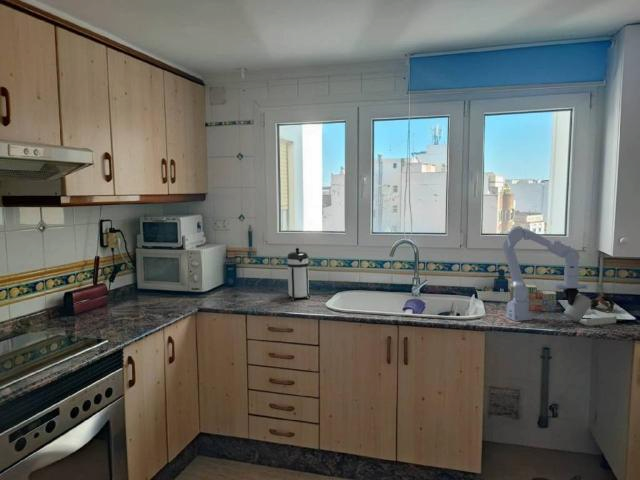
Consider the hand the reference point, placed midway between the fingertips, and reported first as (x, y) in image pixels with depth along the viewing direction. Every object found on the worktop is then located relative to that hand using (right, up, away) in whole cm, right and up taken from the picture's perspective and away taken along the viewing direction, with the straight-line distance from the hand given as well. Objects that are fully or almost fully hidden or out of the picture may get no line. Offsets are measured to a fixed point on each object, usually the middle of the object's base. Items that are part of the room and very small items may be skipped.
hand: (570, 304), depth 216 cm
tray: (+12, -8, +4) cm, 14 cm away
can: (0, -7, +1) cm, 7 cm away
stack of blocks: (-6, -6, +26) cm, 28 cm away
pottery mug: (+26, -6, +21) cm, 34 cm away
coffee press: (-128, -5, +64) cm, 144 cm away
